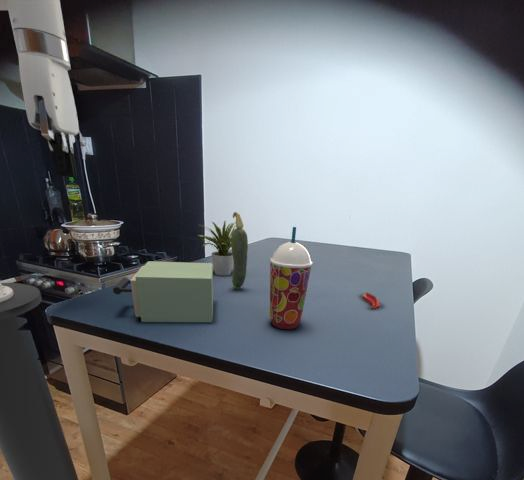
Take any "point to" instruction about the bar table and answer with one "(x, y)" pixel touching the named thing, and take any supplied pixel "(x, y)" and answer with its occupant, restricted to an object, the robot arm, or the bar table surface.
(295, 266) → the smoothie
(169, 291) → the pale green box
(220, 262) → the house plant
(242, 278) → the vegetable
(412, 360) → the bar table surface
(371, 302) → the cayenne pepper
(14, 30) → the robot arm
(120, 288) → the drawer
